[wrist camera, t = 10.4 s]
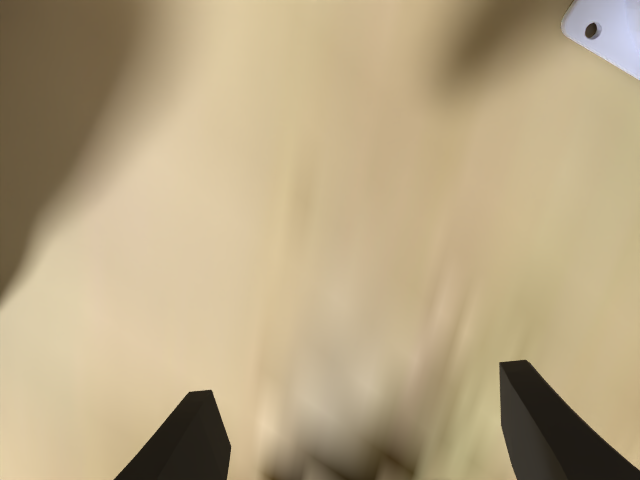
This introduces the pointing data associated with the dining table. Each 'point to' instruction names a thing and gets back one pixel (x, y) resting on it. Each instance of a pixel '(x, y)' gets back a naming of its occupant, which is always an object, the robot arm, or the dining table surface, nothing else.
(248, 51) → the dining table surface
